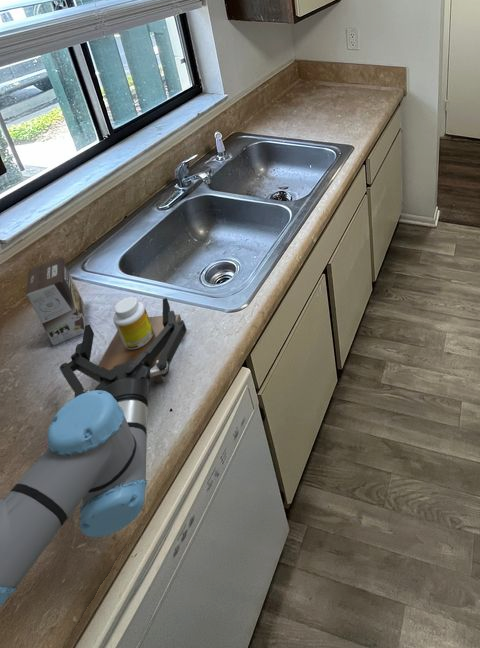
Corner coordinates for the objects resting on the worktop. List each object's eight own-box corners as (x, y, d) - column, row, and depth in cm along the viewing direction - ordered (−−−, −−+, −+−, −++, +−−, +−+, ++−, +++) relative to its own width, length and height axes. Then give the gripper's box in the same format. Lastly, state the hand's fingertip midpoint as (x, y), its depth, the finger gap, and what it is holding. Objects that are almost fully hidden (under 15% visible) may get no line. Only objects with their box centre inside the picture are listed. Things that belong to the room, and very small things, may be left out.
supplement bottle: (159, 334, 93) (147, 300, 89) (134, 355, 89) (119, 320, 84) (144, 322, 96) (131, 289, 91) (118, 343, 91) (103, 308, 87)
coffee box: (86, 332, 101) (62, 281, 94) (52, 346, 97) (24, 295, 91) (86, 305, 108) (63, 255, 101) (54, 318, 104) (28, 267, 97)
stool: (103, 390, 88) (94, 371, 86) (131, 337, 99) (123, 319, 97) (165, 384, 89) (157, 365, 87) (185, 332, 100) (179, 314, 98)
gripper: (36, 468, 68) (61, 354, 85) (207, 393, 78) (199, 305, 95) (17, 440, 65) (47, 328, 82) (198, 365, 75) (191, 280, 92)
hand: (129, 315), depth 89 cm, fingers open, 13 cm apart
